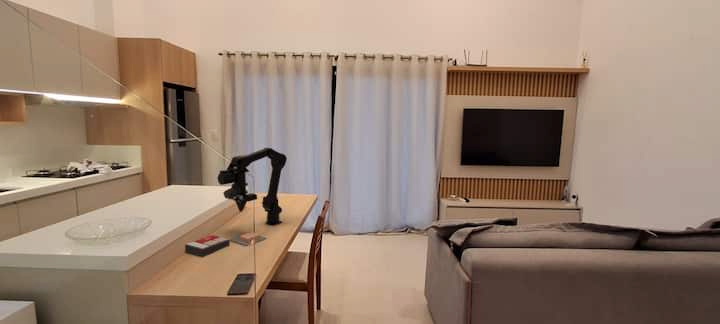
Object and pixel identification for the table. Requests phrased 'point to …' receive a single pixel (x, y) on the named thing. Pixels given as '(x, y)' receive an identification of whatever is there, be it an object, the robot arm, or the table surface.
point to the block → (249, 237)
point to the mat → (237, 240)
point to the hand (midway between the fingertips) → (240, 211)
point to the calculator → (206, 245)
